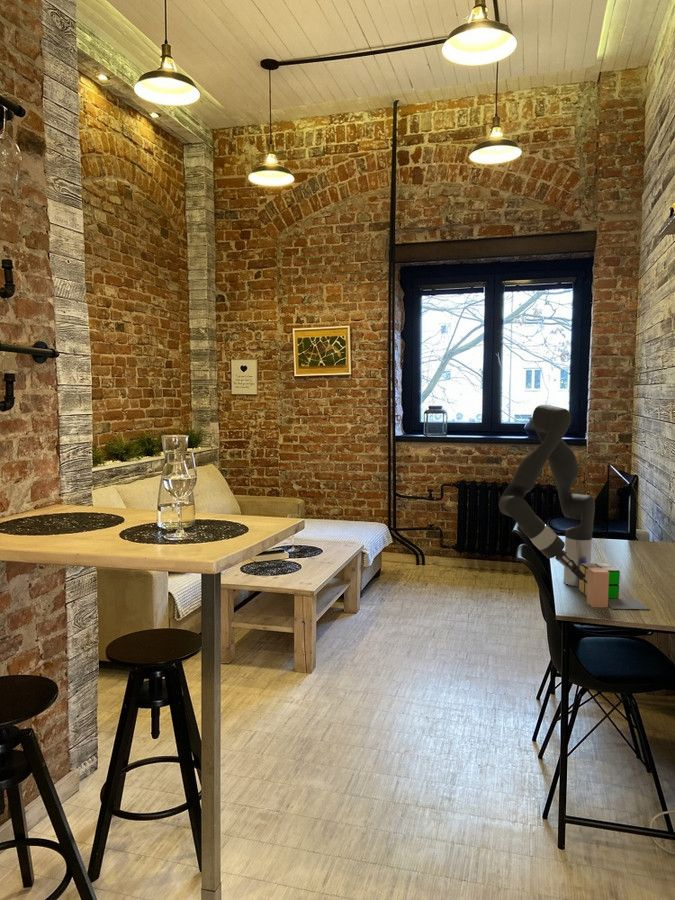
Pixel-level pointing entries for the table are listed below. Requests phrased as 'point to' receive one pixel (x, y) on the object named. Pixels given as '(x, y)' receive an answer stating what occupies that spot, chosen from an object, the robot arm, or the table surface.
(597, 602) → the terracotta block
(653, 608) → the table surface
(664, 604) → the table surface
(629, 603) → the mat
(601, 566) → the puzzle cube
